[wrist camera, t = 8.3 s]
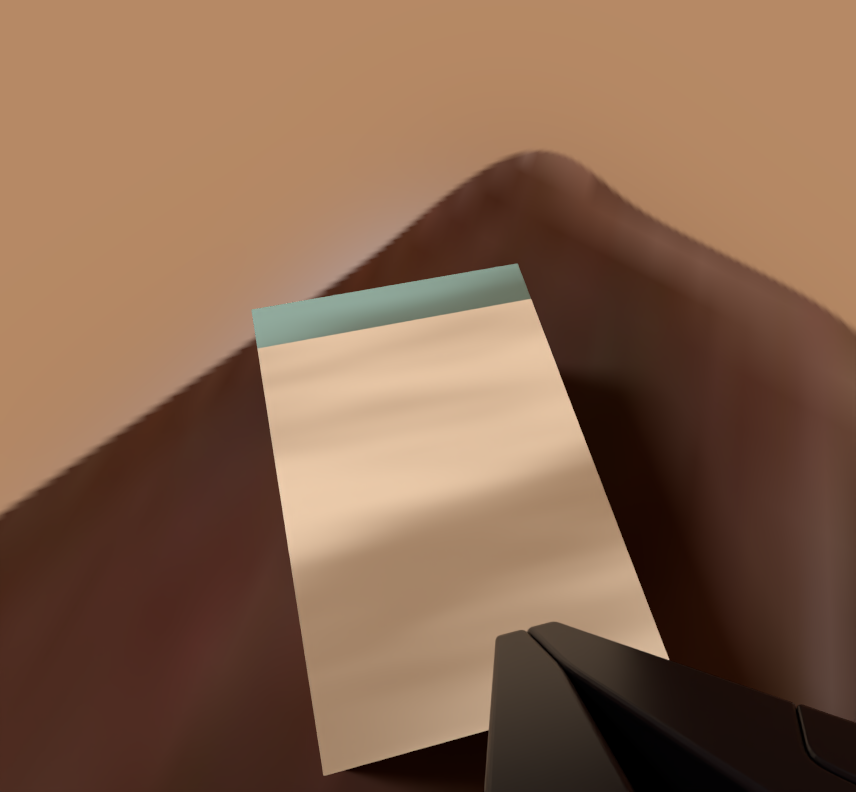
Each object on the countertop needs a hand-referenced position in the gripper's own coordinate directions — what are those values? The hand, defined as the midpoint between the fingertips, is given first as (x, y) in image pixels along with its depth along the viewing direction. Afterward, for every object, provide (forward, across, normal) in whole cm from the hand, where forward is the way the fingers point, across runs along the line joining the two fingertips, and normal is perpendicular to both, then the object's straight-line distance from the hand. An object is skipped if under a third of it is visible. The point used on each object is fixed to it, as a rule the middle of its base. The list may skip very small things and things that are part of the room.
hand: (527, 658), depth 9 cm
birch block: (+3, 0, -4) cm, 5 cm away
